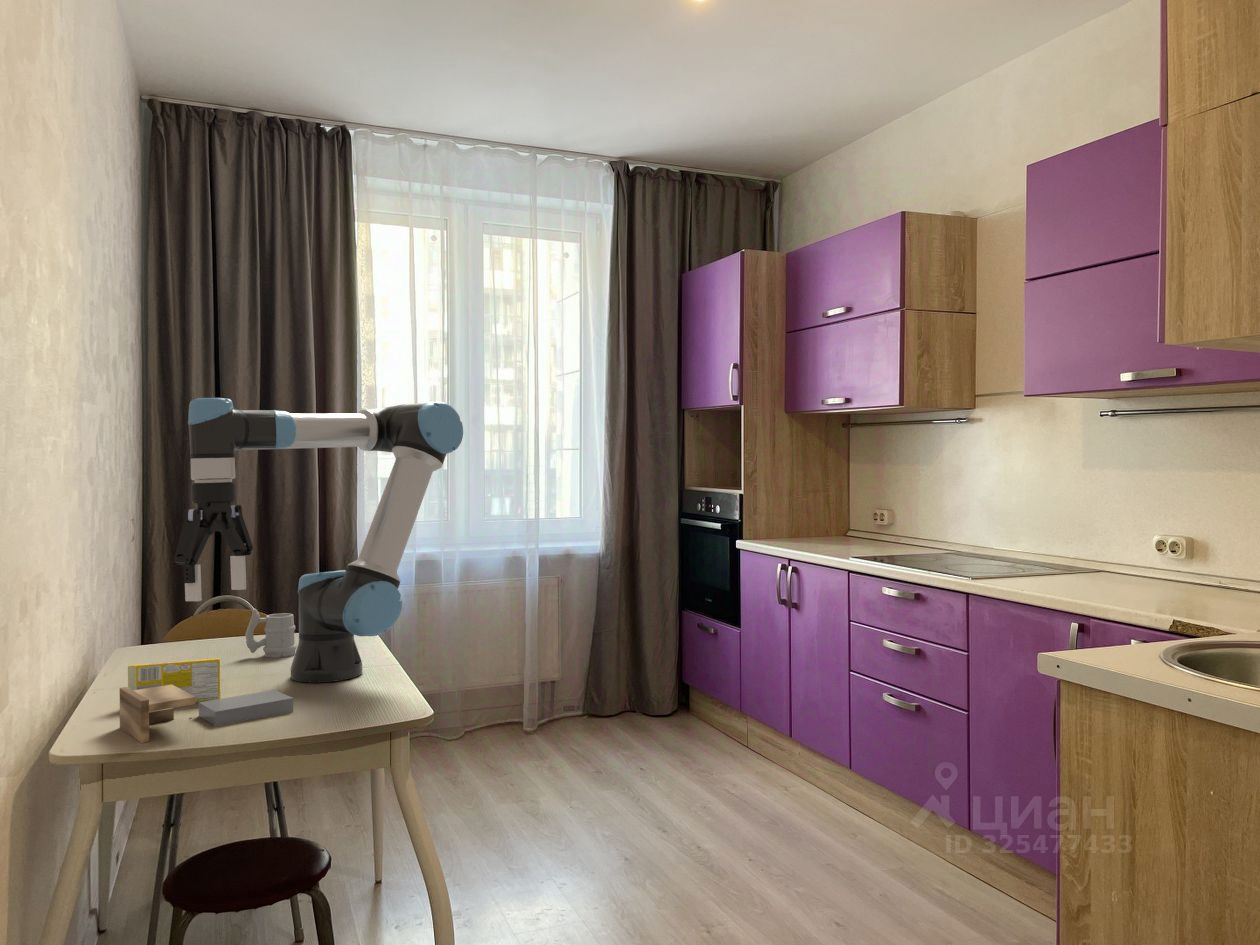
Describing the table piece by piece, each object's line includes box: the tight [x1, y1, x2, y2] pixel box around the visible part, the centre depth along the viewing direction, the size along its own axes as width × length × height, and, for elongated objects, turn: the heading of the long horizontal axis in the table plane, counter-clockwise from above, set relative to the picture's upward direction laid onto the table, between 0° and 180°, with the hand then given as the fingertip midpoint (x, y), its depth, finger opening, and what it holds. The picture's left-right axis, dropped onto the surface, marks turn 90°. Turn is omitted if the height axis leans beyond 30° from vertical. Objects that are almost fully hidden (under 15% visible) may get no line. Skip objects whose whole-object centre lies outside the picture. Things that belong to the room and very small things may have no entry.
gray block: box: [198, 689, 294, 727], centre depth 169 cm, size 14×9×3 cm, turn 133°
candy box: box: [127, 657, 221, 703], centre depth 177 cm, size 16×2×8 cm, turn 110°
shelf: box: [119, 685, 197, 744], centre depth 158 cm, size 9×13×7 cm, turn 43°
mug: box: [244, 608, 298, 659], centre depth 223 cm, size 8×12×12 cm, turn 120°
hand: (217, 595), depth 168 cm, fingers open, 13 cm apart
